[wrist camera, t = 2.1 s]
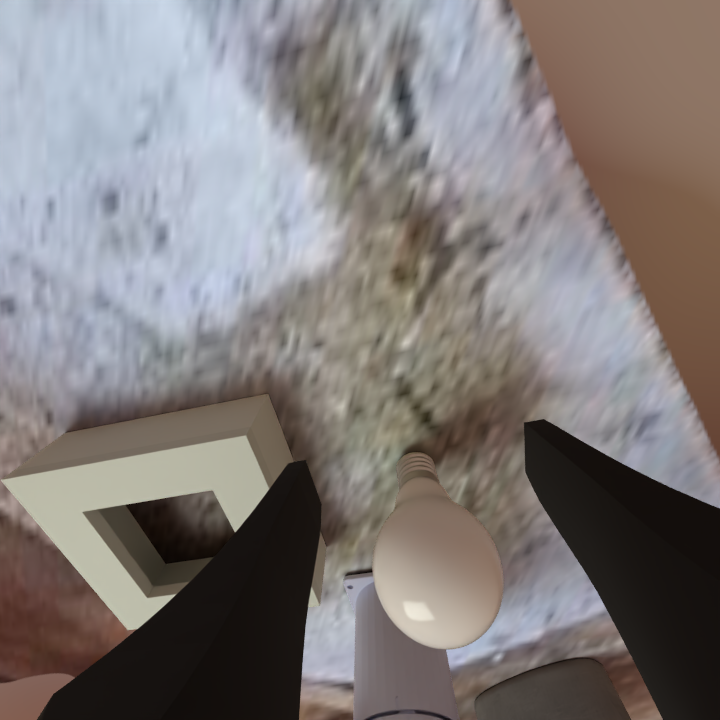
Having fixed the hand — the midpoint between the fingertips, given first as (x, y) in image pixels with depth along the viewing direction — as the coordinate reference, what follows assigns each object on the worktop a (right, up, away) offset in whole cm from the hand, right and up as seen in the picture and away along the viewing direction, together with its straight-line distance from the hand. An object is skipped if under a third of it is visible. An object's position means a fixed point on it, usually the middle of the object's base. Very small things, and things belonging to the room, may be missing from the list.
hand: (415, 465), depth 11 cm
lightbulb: (+2, -4, +13) cm, 14 cm away
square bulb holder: (-14, -7, +15) cm, 21 cm away
